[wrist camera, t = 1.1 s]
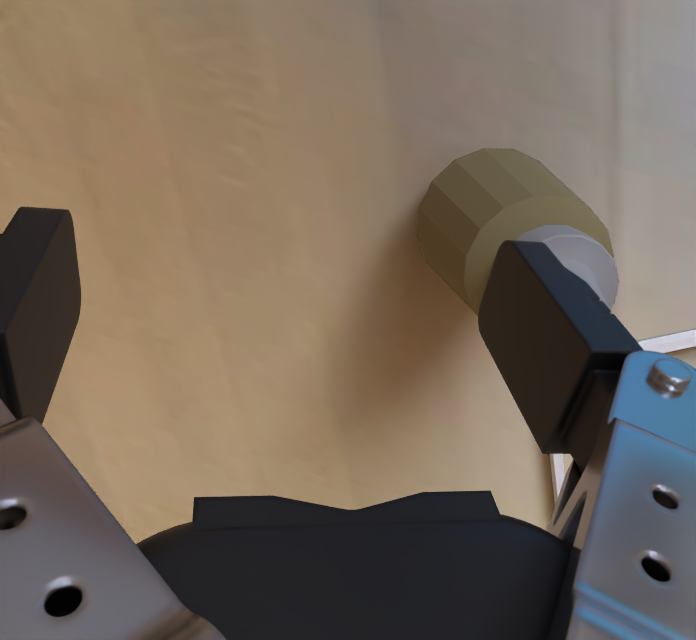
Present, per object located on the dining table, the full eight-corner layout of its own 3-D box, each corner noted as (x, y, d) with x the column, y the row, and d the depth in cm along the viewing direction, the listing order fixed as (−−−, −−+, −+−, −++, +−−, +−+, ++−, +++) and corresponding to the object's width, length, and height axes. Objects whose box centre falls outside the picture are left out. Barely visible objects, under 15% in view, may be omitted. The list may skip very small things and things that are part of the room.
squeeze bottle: (482, 294, 39) (602, 468, 23) (380, 225, 37) (431, 361, 21) (568, 190, 37) (772, 300, 20) (464, 109, 35) (597, 159, 18)
